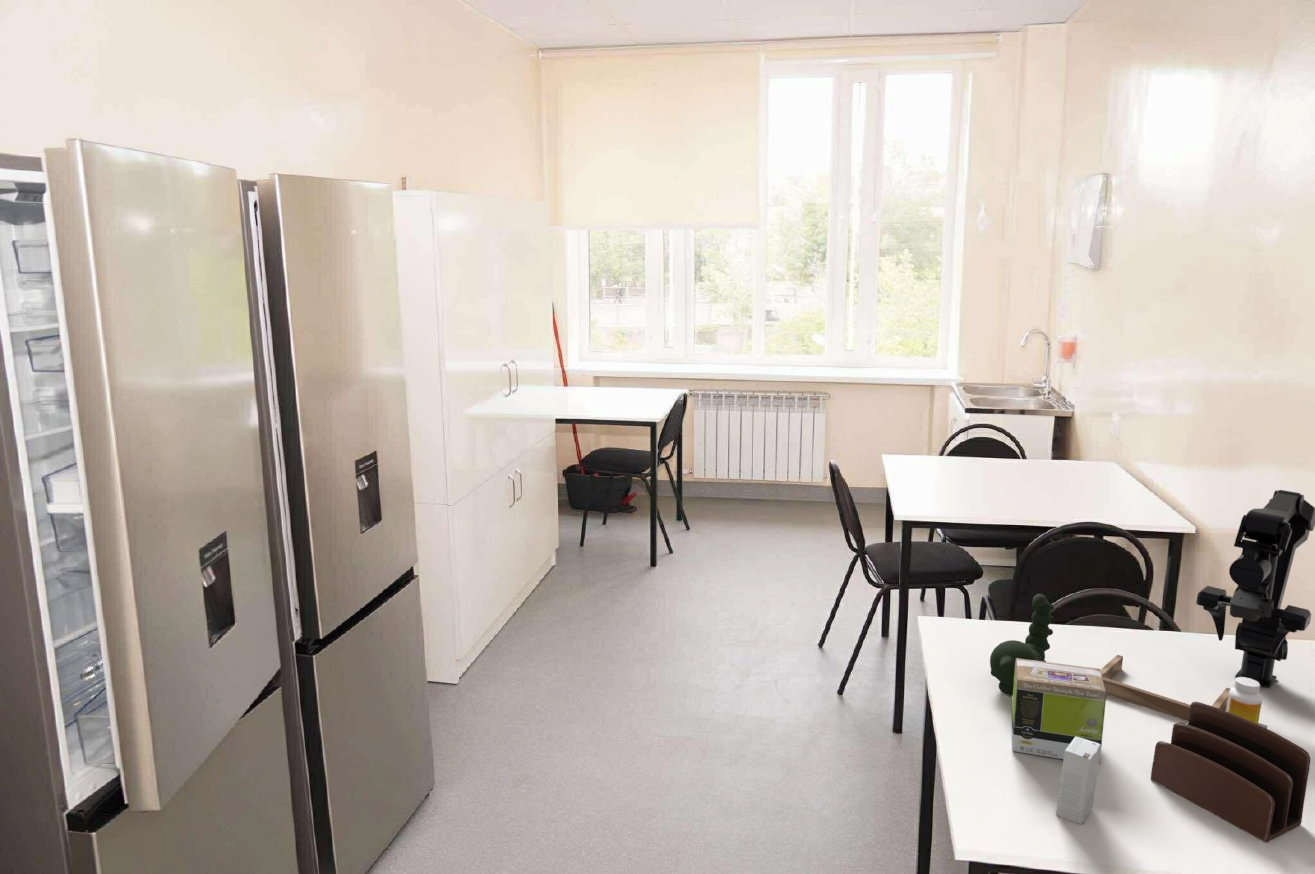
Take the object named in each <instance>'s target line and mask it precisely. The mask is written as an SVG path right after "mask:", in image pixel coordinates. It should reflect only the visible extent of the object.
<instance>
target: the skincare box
mask: <svg viewBox="0 0 1315 874" xmlns="http://www.w3.org/2000/svg"><path fill="white" fill-rule="evenodd" d="M1100 751H1101V752H1102V746H1101V744H1099V743H1096V742H1093V741H1089V740H1086V739H1083V738H1080V737H1074V739H1073V740H1072V742H1071V743H1070V744H1069V746H1068V747H1067V749H1066V750H1065V752H1064V759H1062V761H1063V762H1062V767H1061V771H1060V772H1061V773H1060V781H1059V789H1058V796H1057V802H1056V809H1055V814H1056V815H1057V816H1059V817H1060V818H1063V819H1065V820H1068V821H1070V822H1074V823H1076V824H1079V825H1083V823H1084V821H1085V819H1086V818H1087V816H1088V815H1089V813H1090V812H1091V811H1092V809H1093V806H1094V800H1095V793H1096V788H1097V787H1096V786H1097V779H1098V770H1099V766H1100V764H1099V758H1100V759H1101V755H1100Z"/></svg>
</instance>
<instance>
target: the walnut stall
mask: <svg viewBox="0 0 1315 874" xmlns="http://www.w3.org/2000/svg"><path fill="white" fill-rule="evenodd" d="M1123 662H1124V656H1123V655H1119V654H1116V655H1115V656H1114V657H1113V658H1112V659H1111V660H1109V661H1108V662H1107V663H1106V664H1105V665H1104V666H1103V667H1102V668H1099V669H1100V672H1101V676H1102V679H1103V683H1104V687H1105V690H1106V696H1107V695H1108V696H1110V697H1114V698H1117V699H1119V700H1122V701H1126V702H1128V703H1131V704H1134V705H1137V706H1140V707H1142V708H1147V709H1149V710H1153V711H1156V712H1159V713H1161V714H1164V715H1168V716H1171V717H1174V718H1176V719H1179V720H1182V721H1185V722H1188V721H1189V711H1190V705H1191V704H1189V703H1185V702H1182V701H1180V700H1176V699H1173V698H1171V697H1167V696H1164V695H1160V694H1157V693H1154V692H1151V691H1149V690H1145V689H1142V688H1138V687H1135V686H1133V685H1130V684H1126V683H1124V682H1123V683H1122V682H1121V681H1120V682H1119V681H1117V680H1114V679H1113V678H1114V677H1115V676H1116V675H1117V674H1118V673H1119V672H1120V671H1122V668H1123ZM1230 689H1231V688H1229V687H1225V689H1224V690H1223V691H1222V693H1220V695H1219V696H1218V698H1216V700H1215V701H1214V702H1213V703H1212V704H1211V706H1213V707H1216V708H1219V709H1221V710H1224V711H1226V707H1227V701H1228V695H1229V691H1230Z"/></svg>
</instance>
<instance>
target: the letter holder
mask: <svg viewBox="0 0 1315 874" xmlns="http://www.w3.org/2000/svg"><path fill="white" fill-rule="evenodd" d="M1189 705H1190V711H1189V721H1187V723H1185V722H1184V723H1183V722H1179V721H1178V722H1176V723H1174V724H1173V725H1172V732H1171V738H1170V739H1171V740H1170V743H1169V742H1166V741H1160V740H1159V741H1157V742H1156V744H1155V746H1154V753H1153V758H1152V759H1153V761H1152V765H1151V773H1150V780H1151V781H1153V782H1155V783H1156V784H1158V785H1160V786H1162V787H1164V788H1166V789H1168V790H1169V791H1170V792H1173V793H1175V794H1176V795H1178V796H1180V797H1182V798H1184V799H1185V800H1187V801H1189V802H1191V803H1193V804H1195V805H1197V806H1198V807H1200V808H1202V809H1204V810H1206V811H1208V812H1209V813H1212V814H1213V815H1214V816H1217V817H1218V818H1220V819H1222V820H1225V822H1228V823H1229V824H1231V825H1233V826H1235V827H1237V828H1238V829H1241V830H1242V831H1244V832H1247V833H1248V834H1250V835H1251V836H1253V837H1255V838H1257V839H1259V840H1261V841H1263V842H1264V843H1266V844H1267V843H1269V842H1271V841H1273V840H1275V839H1277V838H1279V837H1280V836H1283V835H1284V834H1286V833H1289V832H1291V831H1292V830H1295V829H1296V828H1298V827H1300V826H1301V824H1302V821H1303V813H1304V807H1305V801H1306V794H1307V793H1306V792H1307V787H1308V780H1309V774H1310V767H1311V756H1310V753H1309V752H1308V750H1306V749H1304V748H1303V747H1301V745H1300V746H1299V745H1298V744H1296V743H1295V742H1292V741H1291V740H1289V739H1288V738H1286V737H1284V736H1282V735H1281V734H1279V733H1276V732H1274V731H1272V730H1271V729H1268V728H1267V729H1266V728H1264V727H1262V726H1260V725H1258V724H1256V723H1254V722H1251V721H1249V720H1247V719H1244V718H1242V717H1239V716H1237V715H1234V714H1232V713H1229V712H1227V711H1226V710H1225V711H1224V710H1221V709H1219V708H1216V707H1213V706H1212V705H1210V704H1206V703H1204V702H1199V701H1192V702H1191V703H1190V704H1189Z"/></svg>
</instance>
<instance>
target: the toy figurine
mask: <svg viewBox="0 0 1315 874" xmlns="http://www.w3.org/2000/svg"><path fill="white" fill-rule="evenodd" d="M1031 607H1032V608H1033V610H1034V611H1033V613H1032V614H1031V621H1032V622H1031V623H1030V624H1029V627H1028V634H1027V636H1026V637H1025V640H1024V641H1025V642H1022V641H1019V640H1013V639H1012V640H1011V639H1010V640H1009V639H1008V640H1005V641H1003V642H1001V643H999V644H998V645H996V647H995V648H994V649H993V650H992V652H991V654H990V658H989V664H990V665H989V666H990V675H991V676H992V677H994V678H996V679H997V680H998V681H999V683H998V690H999V691H1000V692H1001V693H1003V694H1005V695H1007V696H1010V697H1013V687H1014V673H1015V661H1016V658H1019V659H1026V660H1035V661H1043V662H1047V661H1046V660H1045V659H1046V653H1045V652H1046V651H1048V650H1049V649H1050V648H1051V645H1050V643H1049V640H1048V638H1049V636H1052V635H1054V630H1053V629H1052V628H1050V627H1049V625H1050V623H1052V622H1054V621H1055V618H1054V616H1053V615H1051V614H1050V613H1051V612H1052V611H1053V610H1054V607H1055V606H1054V604H1051V603H1050V602H1049V601H1048V599H1047V597H1046V596H1045V595H1044V594H1042V593H1037V594H1036V595H1034V596H1033V597H1032V606H1031Z"/></svg>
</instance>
